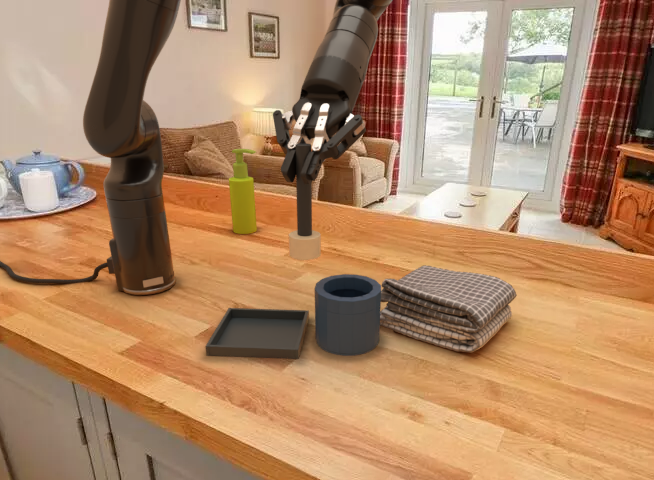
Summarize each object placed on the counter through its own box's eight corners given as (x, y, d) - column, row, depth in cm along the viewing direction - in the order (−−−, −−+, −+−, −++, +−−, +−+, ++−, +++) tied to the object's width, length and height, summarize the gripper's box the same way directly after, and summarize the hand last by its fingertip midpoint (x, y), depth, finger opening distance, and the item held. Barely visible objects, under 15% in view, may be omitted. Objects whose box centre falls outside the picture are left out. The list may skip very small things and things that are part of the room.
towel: (479, 361, 69) (485, 311, 66) (369, 324, 78) (370, 279, 75) (513, 320, 80) (521, 276, 77) (414, 292, 90) (416, 252, 87)
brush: (286, 259, 66) (283, 146, 61) (291, 248, 71) (289, 141, 65) (319, 261, 66) (318, 147, 60) (322, 250, 70) (322, 142, 64)
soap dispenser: (255, 235, 120) (250, 151, 112) (229, 233, 121) (221, 150, 113) (264, 228, 125) (259, 148, 118) (238, 226, 127) (232, 147, 119)
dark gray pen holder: (312, 357, 69) (311, 299, 66) (319, 325, 78) (318, 273, 74) (379, 359, 69) (381, 302, 65) (378, 327, 78) (380, 275, 74)
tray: (206, 358, 69) (205, 346, 68) (229, 318, 80) (228, 307, 79) (298, 361, 68) (298, 349, 67) (309, 321, 79) (308, 310, 78)
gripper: (282, 53, 67) (236, 157, 61) (378, 53, 62) (337, 167, 57) (301, 93, 74) (261, 190, 68) (389, 96, 69) (353, 202, 63)
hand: (296, 179), depth 62 cm, fingers closed on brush, 2 cm apart
